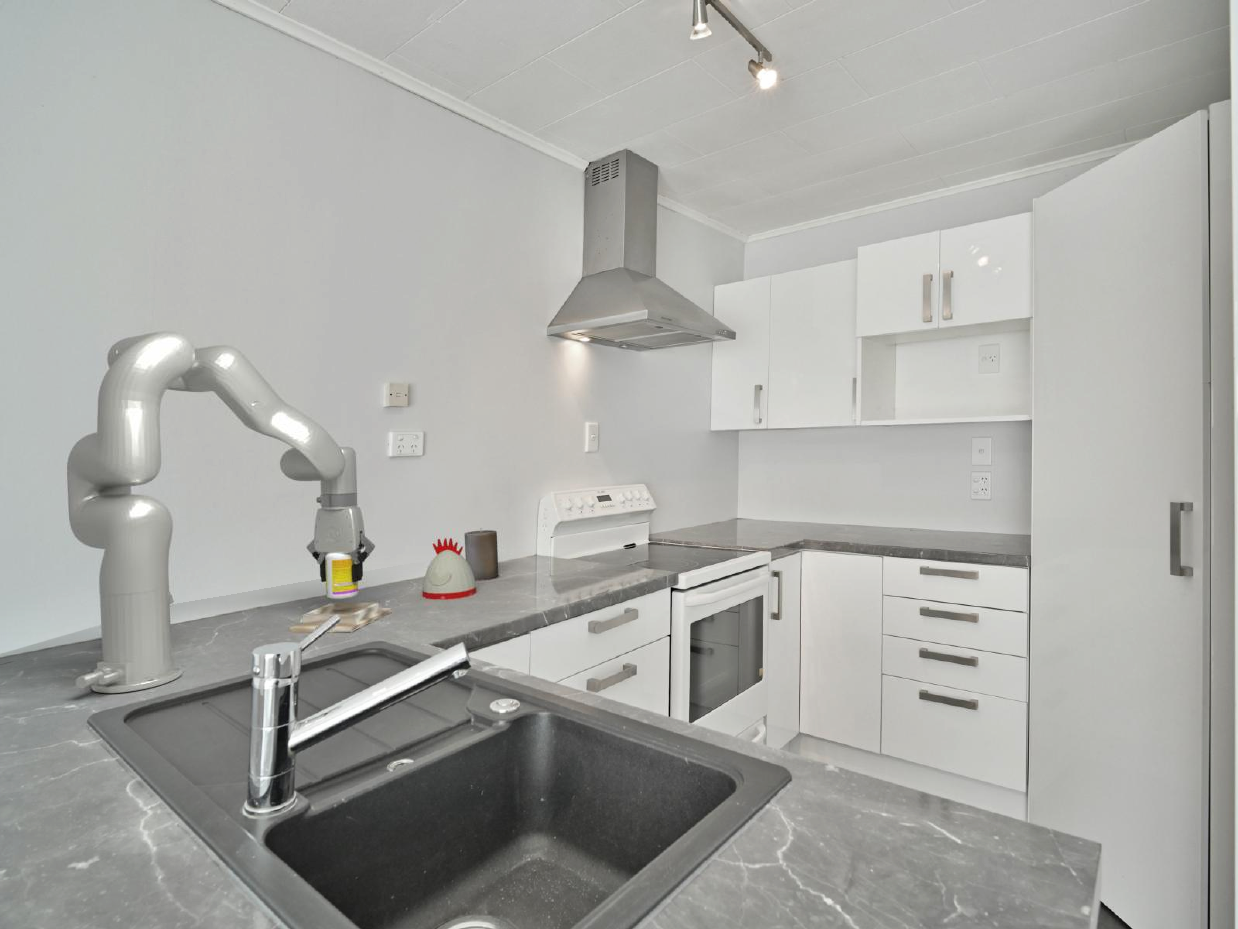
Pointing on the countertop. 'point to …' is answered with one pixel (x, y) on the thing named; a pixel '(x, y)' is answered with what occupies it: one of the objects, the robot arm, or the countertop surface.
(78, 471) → the robot arm
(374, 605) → the beige flat rectangular tray
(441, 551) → the kitchen timer
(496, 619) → the countertop surface
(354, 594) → the supplement bottle
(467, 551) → the pillar candle
